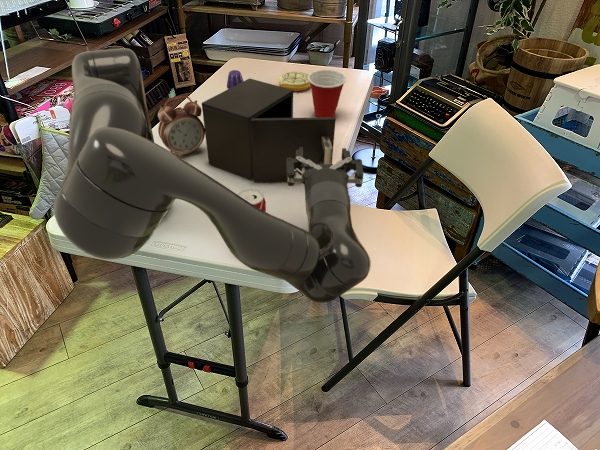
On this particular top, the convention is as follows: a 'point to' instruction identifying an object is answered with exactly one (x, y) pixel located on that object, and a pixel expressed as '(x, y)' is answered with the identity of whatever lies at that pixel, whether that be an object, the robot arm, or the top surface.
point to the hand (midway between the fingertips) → (322, 151)
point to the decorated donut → (295, 81)
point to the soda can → (253, 197)
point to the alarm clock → (181, 127)
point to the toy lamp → (234, 78)
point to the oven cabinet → (241, 122)
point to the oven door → (289, 144)
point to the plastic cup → (326, 91)
